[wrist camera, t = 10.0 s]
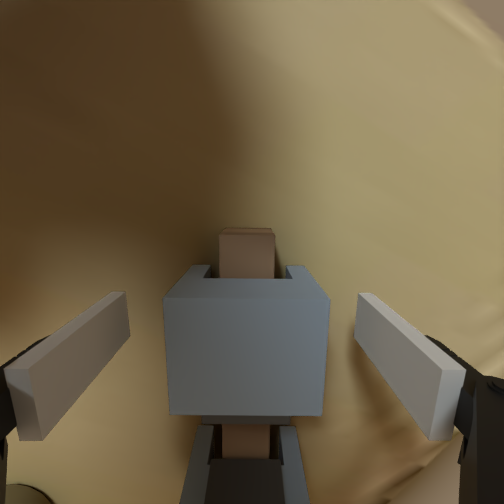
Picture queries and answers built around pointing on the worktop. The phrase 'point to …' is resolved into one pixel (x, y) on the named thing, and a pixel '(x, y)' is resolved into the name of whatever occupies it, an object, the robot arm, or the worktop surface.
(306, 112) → the worktop surface
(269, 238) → the rail
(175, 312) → the grey cube block
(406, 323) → the robot arm
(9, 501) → the squeeze bottle
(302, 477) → the slider block
